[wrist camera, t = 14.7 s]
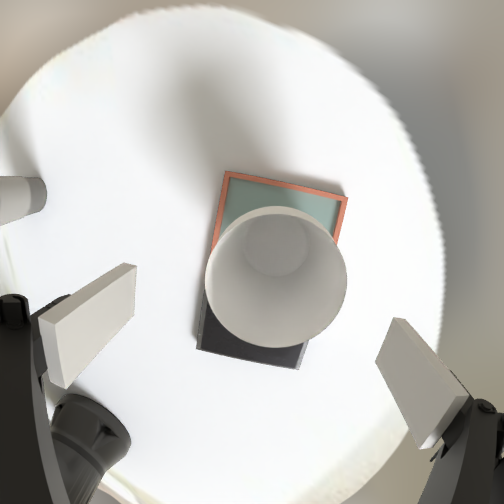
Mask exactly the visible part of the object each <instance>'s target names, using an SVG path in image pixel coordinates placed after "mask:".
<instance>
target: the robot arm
mask: <svg viewBox="0 0 504 504" xmlns="http://www.w3.org/2000/svg"><path fill="white" fill-rule="evenodd" d="M136 271H137V266H135V265H131V264H127V263H122V264H120V265H119V266H117V267H115V268H114V269H112V270H110V271H109V272H107V273H106V274H104V275H102V276H101V277H99V278H97V279H96V280H94V281H93V282H91V283H89V284H88V285H86V286H85V287H83V288H82V289H80V290H78V291H77V292H75V293H74V294H72V295H70V294H68V295H65V296H61V297H59V298H57V299H55V300H54V301H52V302H51V303H49V304H47V305H46V306H45V307H43V308H41V309H40V310H38V311H37V312H35V313H34V314H32V315H30V312H29V304H28V299H27V298H26V297H25V296H22V295H19V294H7V295H3V296H1V297H0V504H89V502H90V501H91V498H92V497H93V495H94V493H95V491H96V489H97V487H98V485H99V483H100V481H101V479H102V477H103V475H104V474H105V472H106V471H107V470H108V469H110V468H111V467H112V466H113V465H115V464H116V463H117V462H118V461H120V460H121V459H122V458H123V457H124V456H125V455H126V454H127V452H128V450H129V448H130V446H131V439H130V436H129V434H128V432H127V430H126V429H125V427H124V426H123V425H122V424H121V423H120V421H119V420H118V419H117V418H116V417H114V416H113V415H112V414H111V413H110V412H109V411H107V410H106V409H105V408H103V407H102V406H100V405H99V404H97V403H96V402H94V401H92V400H90V399H88V398H86V397H83V396H80V395H76V394H67V395H65V396H63V397H62V399H61V400H60V401H59V402H58V403H57V405H56V407H55V411H54V414H53V417H52V420H51V424H50V426H49V420H48V415H47V408H46V401H45V394H44V385H43V379H42V374H43V373H44V372H45V371H46V370H47V371H48V375H49V380H50V382H51V383H53V384H55V385H57V386H59V387H61V388H63V389H65V390H66V389H67V388H68V387H69V386H70V385H71V383H72V382H73V381H74V380H75V379H76V378H77V377H78V376H79V374H80V373H81V372H82V371H83V370H84V369H85V368H86V367H87V366H88V364H89V363H90V362H91V361H92V360H93V359H94V358H95V357H96V356H97V354H98V353H99V352H100V351H101V350H102V349H103V348H104V347H105V346H106V345H107V344H108V343H109V341H110V340H111V339H112V338H113V337H114V336H115V335H116V334H117V333H118V332H119V331H120V330H121V329H122V327H123V326H124V325H125V324H126V323H127V322H128V321H129V320H130V319H131V318H132V317H133V316H134V305H135V286H136ZM375 363H376V365H377V366H378V368H379V370H380V372H381V374H382V376H383V378H384V380H385V382H386V384H387V385H388V387H389V389H390V391H391V393H392V395H393V397H394V399H395V401H396V403H397V405H398V407H399V409H400V411H401V413H402V415H403V417H404V419H405V421H406V423H407V425H408V427H409V429H410V431H411V434H412V435H413V438H414V440H415V442H416V444H417V446H418V448H419V449H425V448H431V447H434V445H435V444H436V443H437V442H438V440H439V439H440V438H441V437H442V439H443V440H444V444H443V445H442V446H441V447H440V448H439V450H438V451H437V452H436V453H435V455H434V456H433V457H432V458H431V460H430V462H432V461H433V460H434V459H435V458H436V460H435V463H434V466H433V469H432V471H431V474H430V476H429V479H428V481H427V484H426V486H425V488H424V491H423V493H422V495H421V497H420V499H419V502H418V504H504V457H503V458H502V457H501V454H502V453H503V452H504V413H497V410H496V408H495V407H494V406H493V405H492V404H491V403H489V402H488V401H486V400H484V399H475V400H474V398H473V397H472V396H471V395H470V394H469V392H468V391H467V390H466V389H465V387H464V386H463V385H462V384H461V382H460V381H459V380H458V379H457V377H455V375H454V374H453V372H452V371H451V370H449V369H448V368H447V367H446V366H445V364H444V363H443V362H442V361H441V360H440V358H439V357H438V356H437V355H436V354H435V352H434V351H433V350H432V349H431V348H430V347H429V346H428V344H427V343H426V342H425V341H424V340H423V339H422V337H421V336H420V335H419V334H418V333H417V332H416V331H415V330H414V328H413V327H412V326H411V325H410V324H409V323H408V322H407V321H406V320H405V319H401V318H394V317H393V319H392V322H391V325H390V327H389V330H388V332H387V335H386V337H385V340H384V342H383V344H382V347H381V349H380V351H379V354H378V356H377V358H376V360H375Z"/></svg>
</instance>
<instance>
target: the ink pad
mask: <svg viewBox="0 0 504 504" xmlns="http://www.w3.org/2000/svg"><path fill="white" fill-rule="evenodd" d="M308 341H309V340H308ZM308 341H305V342H303V343H300V344H297V345H293V346H289V347H280V348H271V347H263V346H258V345H254V344H251V343H249V342H246V341H244V340H242V339H240V338H238V337H237V336H235V335H234V334H232V333H231V332H230V331H228V330H227V329H226V328H225V327H224V326H223V325H222V324H221V323H220V321H219V320H218V319H217V317H216V316H215V314H214V313H213V311H212V309H211V307H210V304H209V302H208V299H207V295H206V289H205V290H204V295H203V302H202V309H201V316H200V323H199V330H198V338H197V345H196V349H198V350H202V351H206V352H210V353H214V354H219V355H223V356H227V357H232V358H237V359H241V360H246V361H251V362H256V363H261V364H266V365H272V366H277V367H283V368H289V369H295V370H299V367H300V365H301V362H302V359H303V356H304V353H305V350H306V347H307V344H308Z"/></svg>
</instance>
